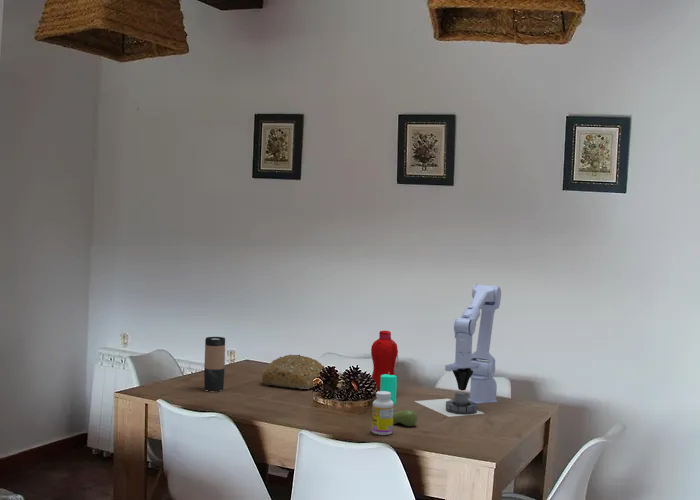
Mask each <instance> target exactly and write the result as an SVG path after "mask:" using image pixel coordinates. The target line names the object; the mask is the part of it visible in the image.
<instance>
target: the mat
mask: <svg viewBox="0 0 700 500" xmlns="http://www.w3.org/2000/svg"><path fill="white" fill-rule="evenodd" d="M449 400H452V399H450V398H441V399H439V398H438V399H437V398H436V399H425V400H424V399H423V400H414V402H415V403H417V404H419V405H421V406H423V407H426V408H428V409H430V410H432V411H435V412H436V413H439V414H441V415H444V416H446V417H449V418H450V417H463V416H465V415H462V414H454V413H450V412H447V411H446V402H447V401H449ZM484 414H486V413H484V412H483V411H480V410H478V409H477V413H475V414H469V415H468V416H473V415H484Z"/></svg>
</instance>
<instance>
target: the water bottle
mask: <svg viewBox="0 0 700 500" xmlns="http://www.w3.org/2000/svg"><path fill="white" fill-rule="evenodd" d="M378 334H379V337H378V339H376V340H375V341H373V342H372V345H371V349H370V351H371V352H370V354H371V359H372V364H373V365H372V366H373V367H372V368H373V371H372V375H371V378H373V379H374V380H375V382H376V385H377V392H378V391H380V381H381V375H384V374H387V375H395V376H396V374H395V368H397V367H398V365H399V363H397V365H396V361H397V360H399V355H398V354H399V351H398V345H397V343H396V342H395V340H393V339H392V332H391V331H390V330H379V333H378ZM397 392H398V391H397V390H396V394H397Z"/></svg>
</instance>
